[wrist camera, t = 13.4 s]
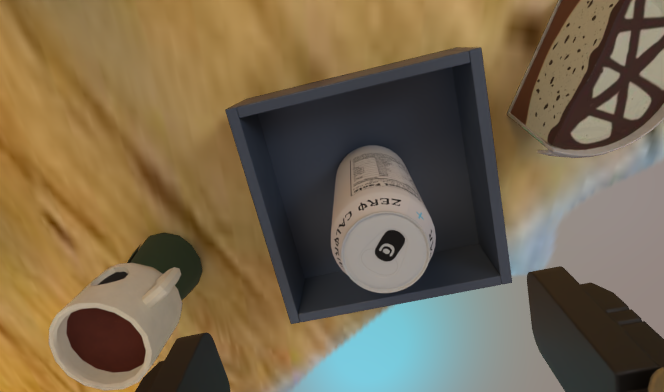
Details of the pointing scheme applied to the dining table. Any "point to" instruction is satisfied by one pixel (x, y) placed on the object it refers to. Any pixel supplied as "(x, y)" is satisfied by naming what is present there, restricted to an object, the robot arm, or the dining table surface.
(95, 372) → the character mug
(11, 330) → the dining table surface
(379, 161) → the energy drink can
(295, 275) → the tub
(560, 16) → the food container
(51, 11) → the dining table surface
